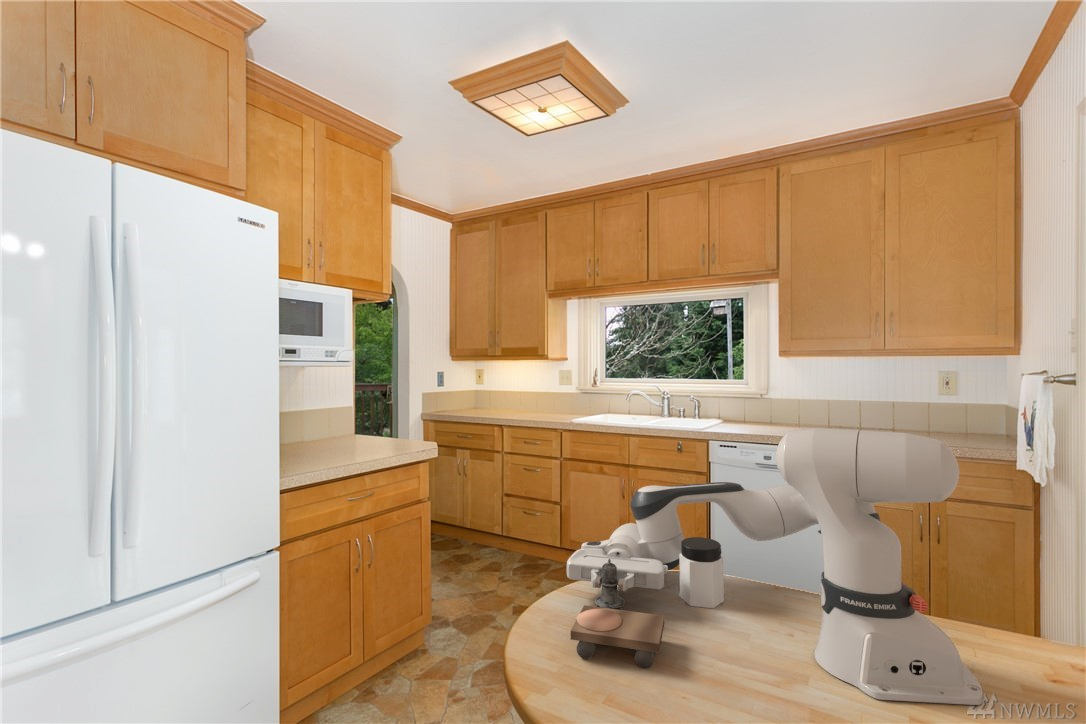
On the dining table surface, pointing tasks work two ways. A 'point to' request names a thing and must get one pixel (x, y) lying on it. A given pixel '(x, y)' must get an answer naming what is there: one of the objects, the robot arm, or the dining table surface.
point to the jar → (701, 572)
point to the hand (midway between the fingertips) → (608, 585)
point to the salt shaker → (609, 588)
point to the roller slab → (618, 632)
